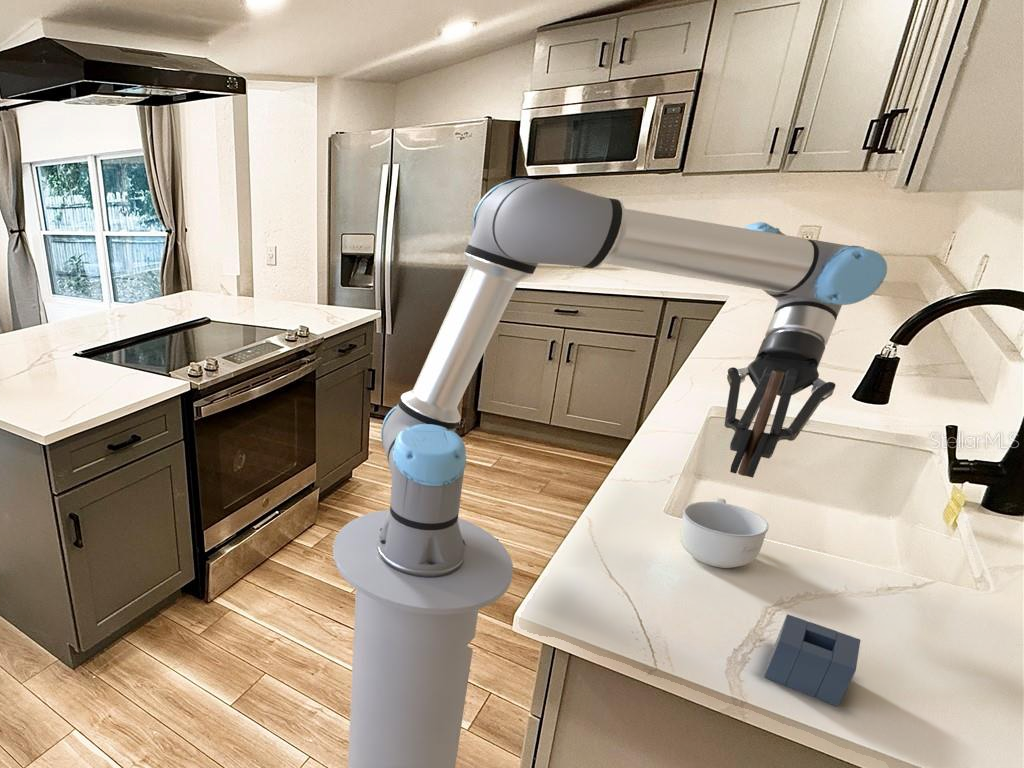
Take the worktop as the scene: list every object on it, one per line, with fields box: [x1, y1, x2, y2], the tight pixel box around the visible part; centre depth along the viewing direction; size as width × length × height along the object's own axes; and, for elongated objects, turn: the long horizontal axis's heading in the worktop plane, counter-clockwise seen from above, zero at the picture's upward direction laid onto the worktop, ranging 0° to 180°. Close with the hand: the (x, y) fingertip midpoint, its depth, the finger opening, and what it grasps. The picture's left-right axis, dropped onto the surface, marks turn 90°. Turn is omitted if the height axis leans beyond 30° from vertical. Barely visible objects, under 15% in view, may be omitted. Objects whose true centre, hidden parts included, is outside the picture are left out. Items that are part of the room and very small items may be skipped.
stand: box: [764, 613, 861, 708], centre depth 78 cm, size 7×7×6 cm
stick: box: [737, 370, 784, 477], centre depth 93 cm, size 1×1×17 cm
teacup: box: [679, 497, 769, 569], centre depth 102 cm, size 14×11×8 cm
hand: (742, 471), depth 93 cm, fingers closed on stick
